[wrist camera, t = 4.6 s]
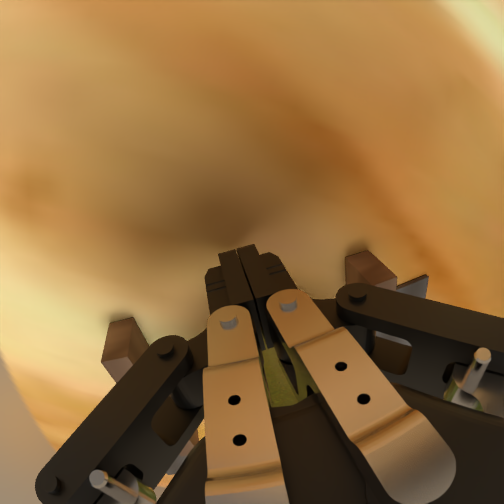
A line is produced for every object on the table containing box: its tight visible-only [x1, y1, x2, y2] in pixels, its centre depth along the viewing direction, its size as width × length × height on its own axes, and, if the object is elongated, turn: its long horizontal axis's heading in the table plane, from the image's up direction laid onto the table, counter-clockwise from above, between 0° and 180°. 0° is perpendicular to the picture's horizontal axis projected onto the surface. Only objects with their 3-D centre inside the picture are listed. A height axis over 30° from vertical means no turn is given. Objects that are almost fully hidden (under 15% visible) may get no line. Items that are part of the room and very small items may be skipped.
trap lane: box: [101, 250, 429, 475], centre depth 21 cm, size 25×26×4 cm
